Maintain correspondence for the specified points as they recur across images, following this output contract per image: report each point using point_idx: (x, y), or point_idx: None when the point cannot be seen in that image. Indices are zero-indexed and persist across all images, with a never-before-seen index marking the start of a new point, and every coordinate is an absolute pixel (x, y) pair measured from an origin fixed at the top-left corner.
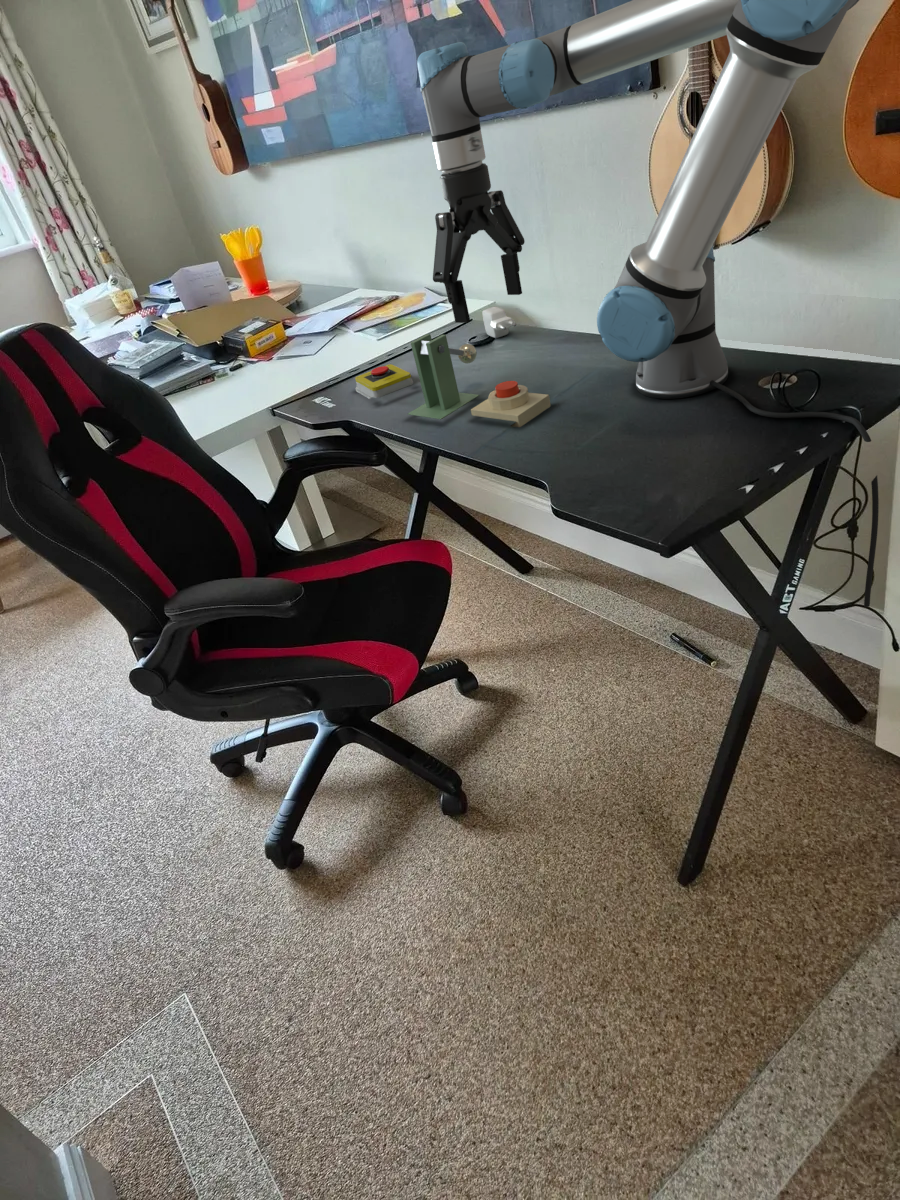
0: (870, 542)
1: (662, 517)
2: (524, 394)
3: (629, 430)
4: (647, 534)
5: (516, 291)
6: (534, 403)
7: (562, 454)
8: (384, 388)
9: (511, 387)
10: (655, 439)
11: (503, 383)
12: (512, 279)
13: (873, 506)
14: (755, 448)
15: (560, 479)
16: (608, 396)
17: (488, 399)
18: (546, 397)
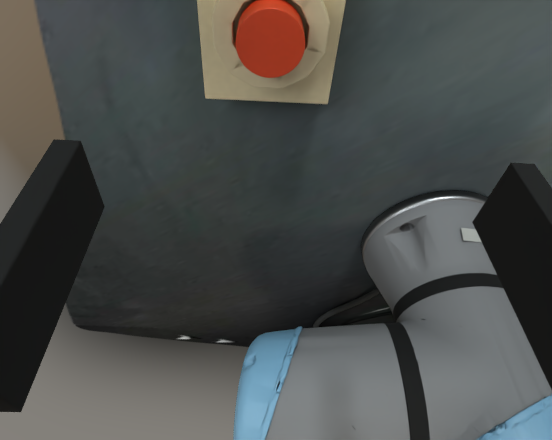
0: None
1: (106, 316)
2: (274, 86)
3: (257, 242)
4: (77, 317)
5: (485, 223)
6: (275, 98)
7: (156, 204)
8: None
9: (257, 73)
10: (242, 270)
11: (281, 26)
12: (518, 263)
13: None
14: (251, 327)
15: (98, 231)
16: (377, 170)
17: None
18: (316, 102)
